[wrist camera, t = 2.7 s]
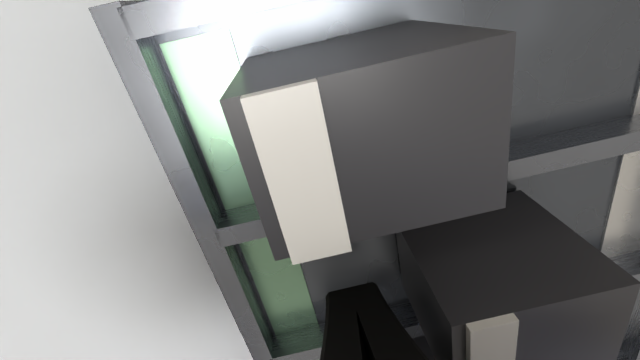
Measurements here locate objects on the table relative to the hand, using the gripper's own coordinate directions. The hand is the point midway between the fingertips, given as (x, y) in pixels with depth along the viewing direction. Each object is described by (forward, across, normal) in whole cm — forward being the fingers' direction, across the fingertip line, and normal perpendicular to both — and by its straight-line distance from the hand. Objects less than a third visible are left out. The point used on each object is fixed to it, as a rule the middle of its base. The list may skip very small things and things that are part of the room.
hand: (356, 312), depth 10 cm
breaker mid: (+2, -4, 0) cm, 4 cm away
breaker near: (+2, -1, -5) cm, 6 cm away
